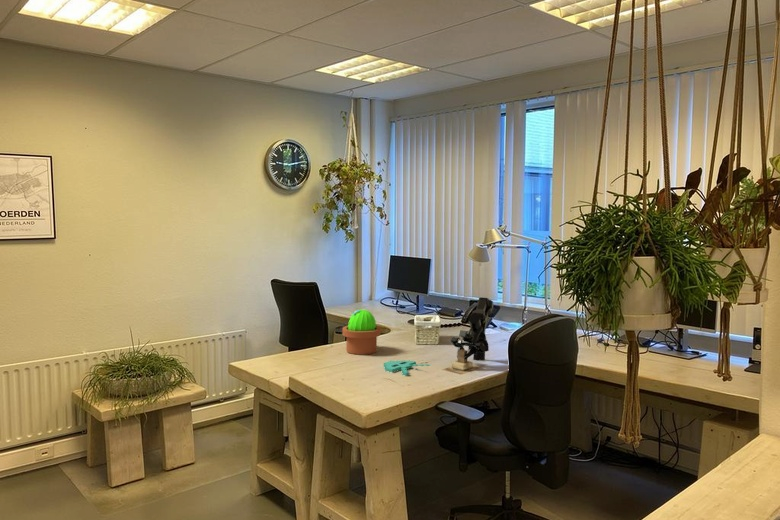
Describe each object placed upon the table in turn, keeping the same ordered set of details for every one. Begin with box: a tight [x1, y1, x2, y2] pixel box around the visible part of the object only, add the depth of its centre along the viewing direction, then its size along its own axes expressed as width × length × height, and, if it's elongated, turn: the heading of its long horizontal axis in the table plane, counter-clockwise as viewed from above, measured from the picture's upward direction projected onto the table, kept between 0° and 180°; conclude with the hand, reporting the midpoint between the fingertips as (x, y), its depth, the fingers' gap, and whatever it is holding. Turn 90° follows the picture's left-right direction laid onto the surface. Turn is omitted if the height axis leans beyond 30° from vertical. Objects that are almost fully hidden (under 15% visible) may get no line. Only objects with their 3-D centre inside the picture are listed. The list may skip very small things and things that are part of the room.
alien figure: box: [383, 359, 430, 377], centre depth 296 cm, size 20×2×20 cm
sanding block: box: [451, 349, 474, 371], centre depth 291 cm, size 8×7×9 cm
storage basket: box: [414, 314, 442, 346], centre depth 359 cm, size 24×16×15 cm
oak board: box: [441, 364, 482, 375], centre depth 291 cm, size 18×12×2 cm, turn 137°
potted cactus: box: [342, 309, 382, 356], centre depth 330 cm, size 22×22×25 cm
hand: (460, 358), depth 290 cm, fingers closed on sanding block, 4 cm apart
